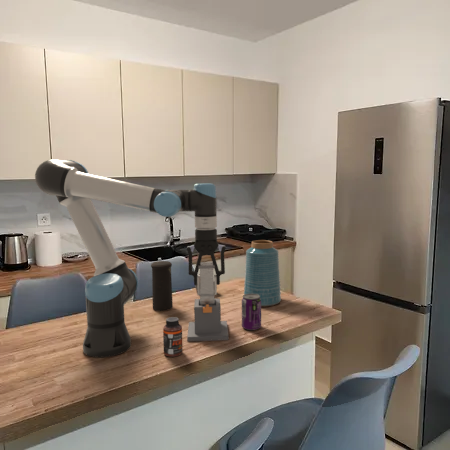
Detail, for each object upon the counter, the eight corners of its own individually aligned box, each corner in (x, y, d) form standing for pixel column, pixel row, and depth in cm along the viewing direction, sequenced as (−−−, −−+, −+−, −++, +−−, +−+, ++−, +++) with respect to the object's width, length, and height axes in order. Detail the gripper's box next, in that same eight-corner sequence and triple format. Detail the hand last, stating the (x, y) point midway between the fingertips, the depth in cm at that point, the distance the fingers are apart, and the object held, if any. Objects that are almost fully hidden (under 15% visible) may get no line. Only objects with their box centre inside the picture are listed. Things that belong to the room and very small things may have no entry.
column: (199, 330, 141) (198, 265, 138) (200, 324, 147) (198, 262, 144) (215, 330, 141) (214, 265, 138) (215, 324, 147) (214, 261, 144)
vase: (283, 307, 170) (283, 244, 166) (244, 308, 170) (243, 245, 167) (278, 295, 186) (278, 238, 183) (243, 296, 186) (242, 238, 183)
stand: (187, 341, 137) (186, 307, 136) (189, 325, 151) (188, 294, 149) (228, 340, 138) (228, 306, 136) (226, 324, 152) (226, 293, 150)
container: (177, 306, 173) (176, 260, 170) (163, 313, 165) (161, 265, 163) (162, 303, 177) (160, 258, 175) (147, 309, 170) (145, 262, 167)
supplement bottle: (174, 359, 124) (173, 323, 122) (159, 355, 127) (158, 320, 126) (186, 352, 129) (185, 317, 127) (171, 347, 132) (170, 314, 131)
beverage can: (260, 332, 144) (259, 299, 143) (240, 330, 146) (240, 298, 144) (262, 324, 151) (262, 293, 150) (243, 323, 152) (243, 292, 151)
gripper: (178, 230, 135) (180, 297, 138) (233, 229, 136) (233, 296, 139) (180, 227, 143) (181, 291, 146) (231, 226, 144) (232, 290, 147)
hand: (207, 293), depth 142 cm, fingers closed on column, 5 cm apart
